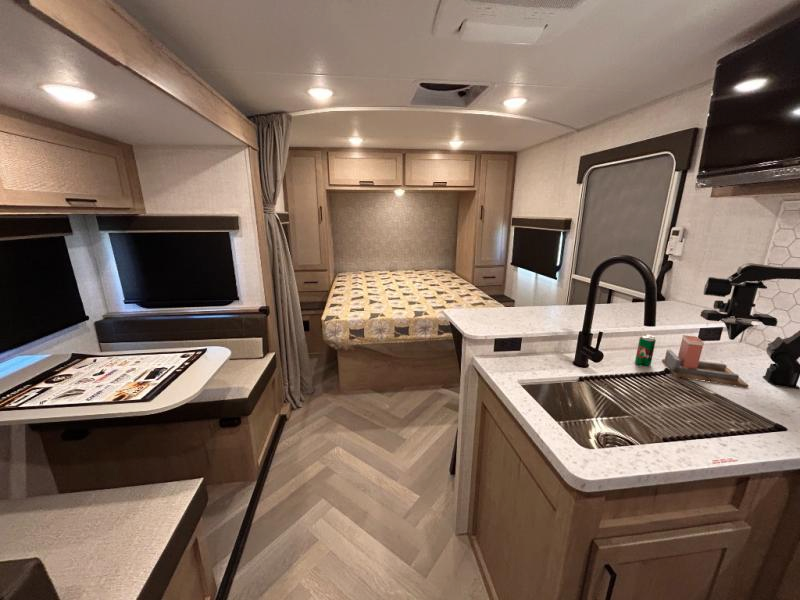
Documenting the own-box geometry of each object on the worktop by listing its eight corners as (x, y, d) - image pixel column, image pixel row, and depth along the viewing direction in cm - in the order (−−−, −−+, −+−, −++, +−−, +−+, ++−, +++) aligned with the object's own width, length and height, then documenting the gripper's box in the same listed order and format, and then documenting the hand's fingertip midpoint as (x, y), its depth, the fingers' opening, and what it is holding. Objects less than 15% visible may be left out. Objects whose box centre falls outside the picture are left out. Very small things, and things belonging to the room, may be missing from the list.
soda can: (645, 361, 128) (650, 334, 125) (653, 367, 123) (659, 339, 120) (631, 361, 128) (637, 333, 125) (639, 366, 124) (645, 338, 120)
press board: (726, 369, 120) (727, 367, 120) (747, 387, 108) (748, 385, 108) (662, 361, 128) (662, 358, 128) (675, 377, 116) (675, 374, 115)
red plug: (689, 365, 121) (696, 336, 118) (696, 372, 116) (704, 342, 113) (676, 363, 123) (682, 335, 120) (682, 370, 117) (689, 341, 114)
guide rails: (723, 368, 119) (726, 356, 118) (737, 381, 110) (741, 368, 109) (664, 361, 126) (666, 349, 125) (673, 372, 117) (676, 359, 116)
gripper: (763, 295, 115) (751, 335, 119) (698, 291, 122) (689, 329, 127) (784, 303, 105) (771, 346, 109) (712, 298, 113) (702, 338, 117)
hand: (731, 339), depth 116 cm, fingers closed
